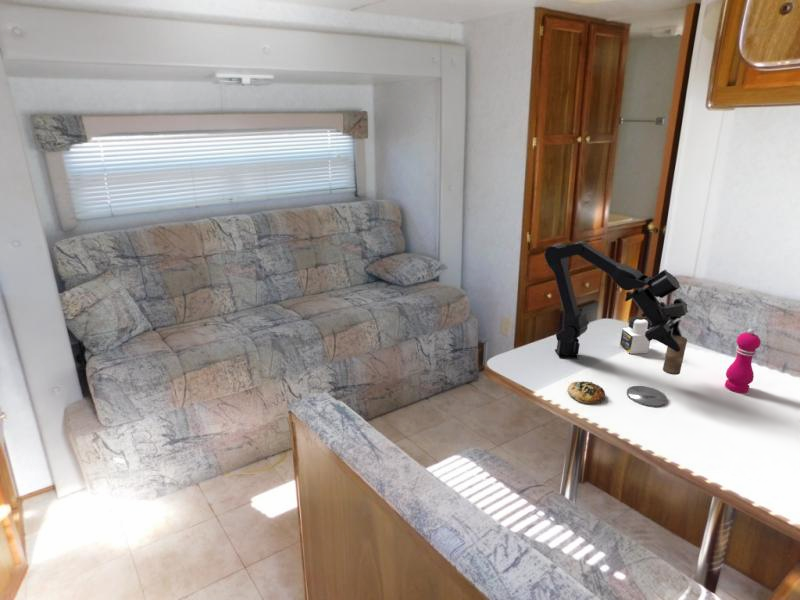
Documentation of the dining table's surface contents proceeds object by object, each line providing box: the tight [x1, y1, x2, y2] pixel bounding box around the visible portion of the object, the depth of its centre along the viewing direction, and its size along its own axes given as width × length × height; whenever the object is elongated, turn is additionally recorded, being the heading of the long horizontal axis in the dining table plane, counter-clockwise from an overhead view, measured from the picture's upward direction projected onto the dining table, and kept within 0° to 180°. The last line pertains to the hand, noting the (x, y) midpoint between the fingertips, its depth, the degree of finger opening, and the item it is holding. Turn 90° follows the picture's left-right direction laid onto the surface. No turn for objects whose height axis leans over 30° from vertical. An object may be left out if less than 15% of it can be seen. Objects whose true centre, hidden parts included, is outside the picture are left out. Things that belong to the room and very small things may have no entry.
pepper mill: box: [724, 328, 761, 394], centre depth 161 cm, size 7×7×20 cm
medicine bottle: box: [619, 316, 651, 355], centre depth 188 cm, size 7×7×12 cm
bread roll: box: [566, 380, 606, 405], centre depth 158 cm, size 11×11×5 cm
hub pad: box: [626, 385, 668, 408], centre depth 158 cm, size 11×11×1 cm
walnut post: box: [662, 335, 688, 376], centre depth 161 cm, size 5×5×11 cm
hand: (681, 348), depth 160 cm, fingers closed on walnut post, 5 cm apart
